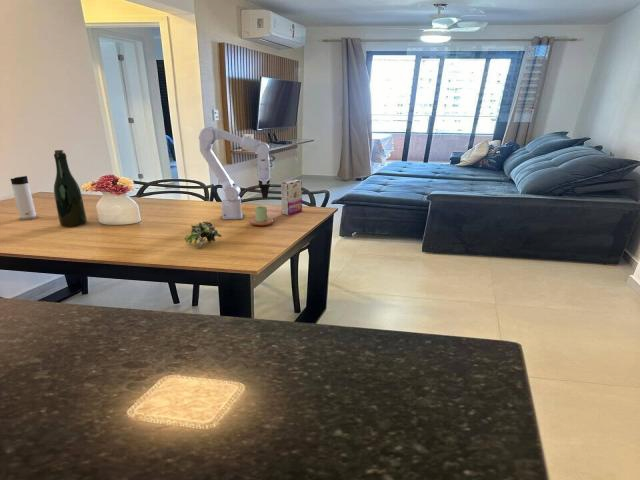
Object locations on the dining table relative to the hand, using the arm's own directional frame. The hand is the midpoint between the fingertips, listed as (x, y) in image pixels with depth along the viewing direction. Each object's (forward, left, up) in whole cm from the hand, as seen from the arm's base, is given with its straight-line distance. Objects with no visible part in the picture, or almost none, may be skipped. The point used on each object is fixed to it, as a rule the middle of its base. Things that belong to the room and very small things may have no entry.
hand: (264, 196), depth 186 cm
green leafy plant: (-25, -39, -11) cm, 48 cm away
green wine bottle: (-86, -4, -11) cm, 87 cm away
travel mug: (-111, +9, -11) cm, 112 cm away
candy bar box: (+14, +7, -11) cm, 19 cm away
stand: (-2, -12, -10) cm, 16 cm away
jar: (-2, -12, -9) cm, 15 cm away
